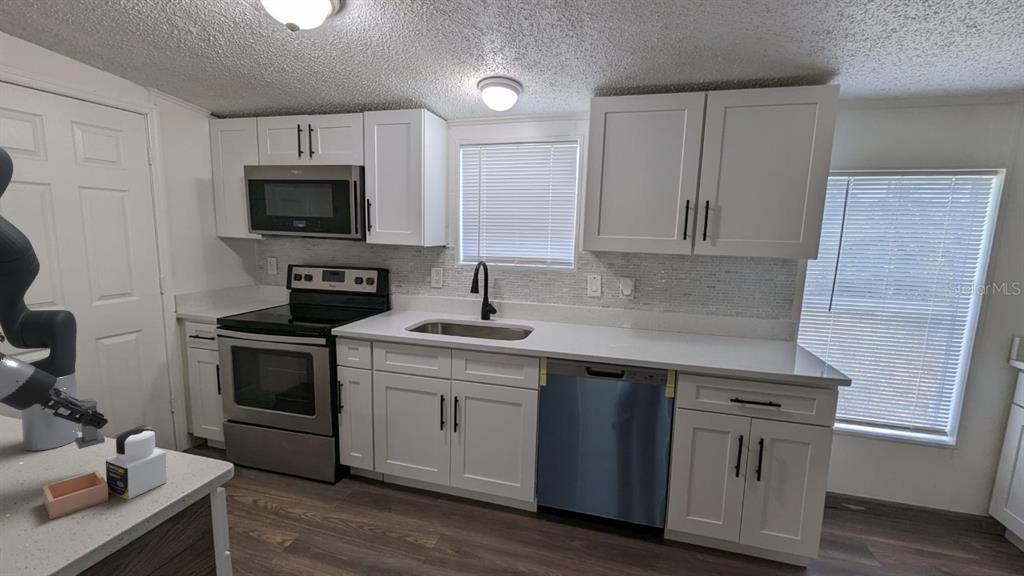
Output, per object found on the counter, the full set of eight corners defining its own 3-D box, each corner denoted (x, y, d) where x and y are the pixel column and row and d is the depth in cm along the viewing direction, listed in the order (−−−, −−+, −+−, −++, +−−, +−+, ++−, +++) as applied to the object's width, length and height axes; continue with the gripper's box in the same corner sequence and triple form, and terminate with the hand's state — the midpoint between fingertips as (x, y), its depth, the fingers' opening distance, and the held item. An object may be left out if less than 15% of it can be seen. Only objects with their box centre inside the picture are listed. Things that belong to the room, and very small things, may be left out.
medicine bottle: (106, 491, 86) (103, 436, 85) (146, 474, 93) (144, 422, 92) (127, 500, 84) (125, 443, 83) (167, 482, 90) (166, 429, 89)
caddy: (43, 503, 82) (42, 486, 81) (98, 485, 88) (98, 469, 88) (50, 519, 77) (49, 502, 77) (108, 500, 83) (107, 483, 83)
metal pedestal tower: (75, 442, 91) (73, 400, 90) (100, 436, 94) (98, 396, 93) (78, 449, 89) (76, 406, 88) (104, 442, 92) (102, 401, 91)
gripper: (38, 374, 79) (126, 416, 91) (28, 358, 87) (110, 398, 99) (-4, 409, 76) (93, 448, 87) (-11, 389, 84) (79, 427, 95)
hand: (101, 422), depth 93 cm, fingers closed on metal pedestal tower, 3 cm apart
